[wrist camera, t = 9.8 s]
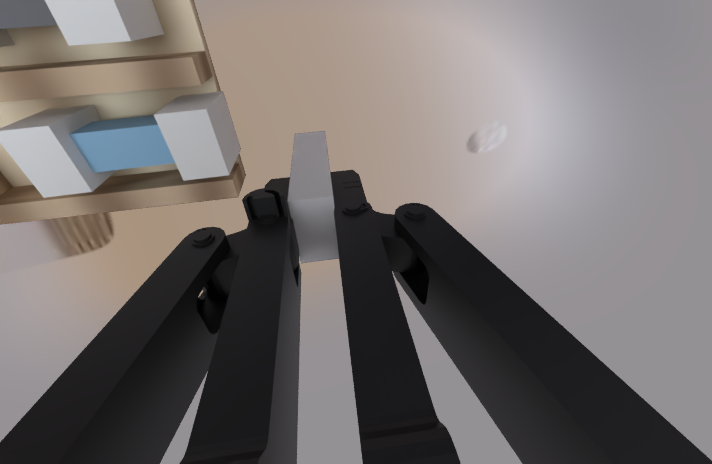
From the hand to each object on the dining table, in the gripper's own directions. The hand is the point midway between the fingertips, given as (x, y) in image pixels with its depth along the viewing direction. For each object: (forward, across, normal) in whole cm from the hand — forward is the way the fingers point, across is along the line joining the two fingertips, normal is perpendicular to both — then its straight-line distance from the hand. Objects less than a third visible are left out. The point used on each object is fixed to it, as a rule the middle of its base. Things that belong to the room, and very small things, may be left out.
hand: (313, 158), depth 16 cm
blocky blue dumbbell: (+8, -11, 0) cm, 13 cm away
